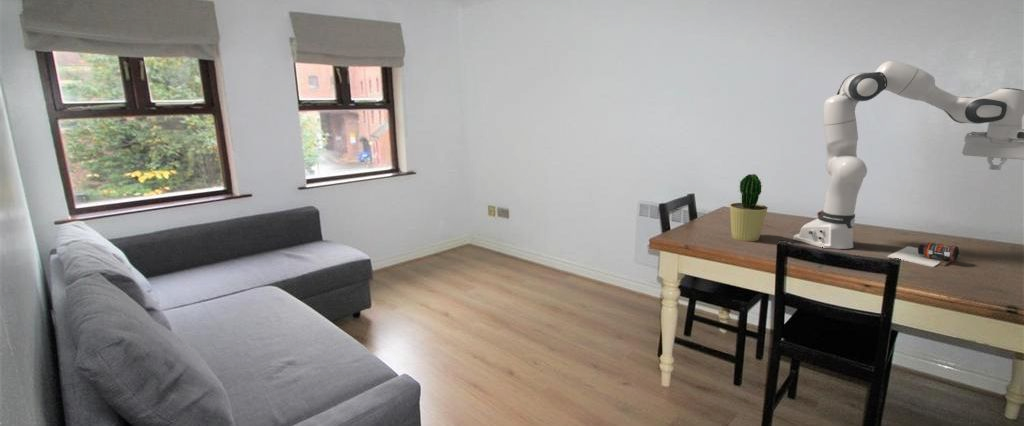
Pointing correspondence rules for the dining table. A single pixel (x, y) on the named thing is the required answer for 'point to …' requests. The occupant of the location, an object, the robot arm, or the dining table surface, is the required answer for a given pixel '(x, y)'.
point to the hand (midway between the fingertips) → (994, 169)
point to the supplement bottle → (939, 251)
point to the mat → (915, 257)
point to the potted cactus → (748, 211)
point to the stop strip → (944, 262)
